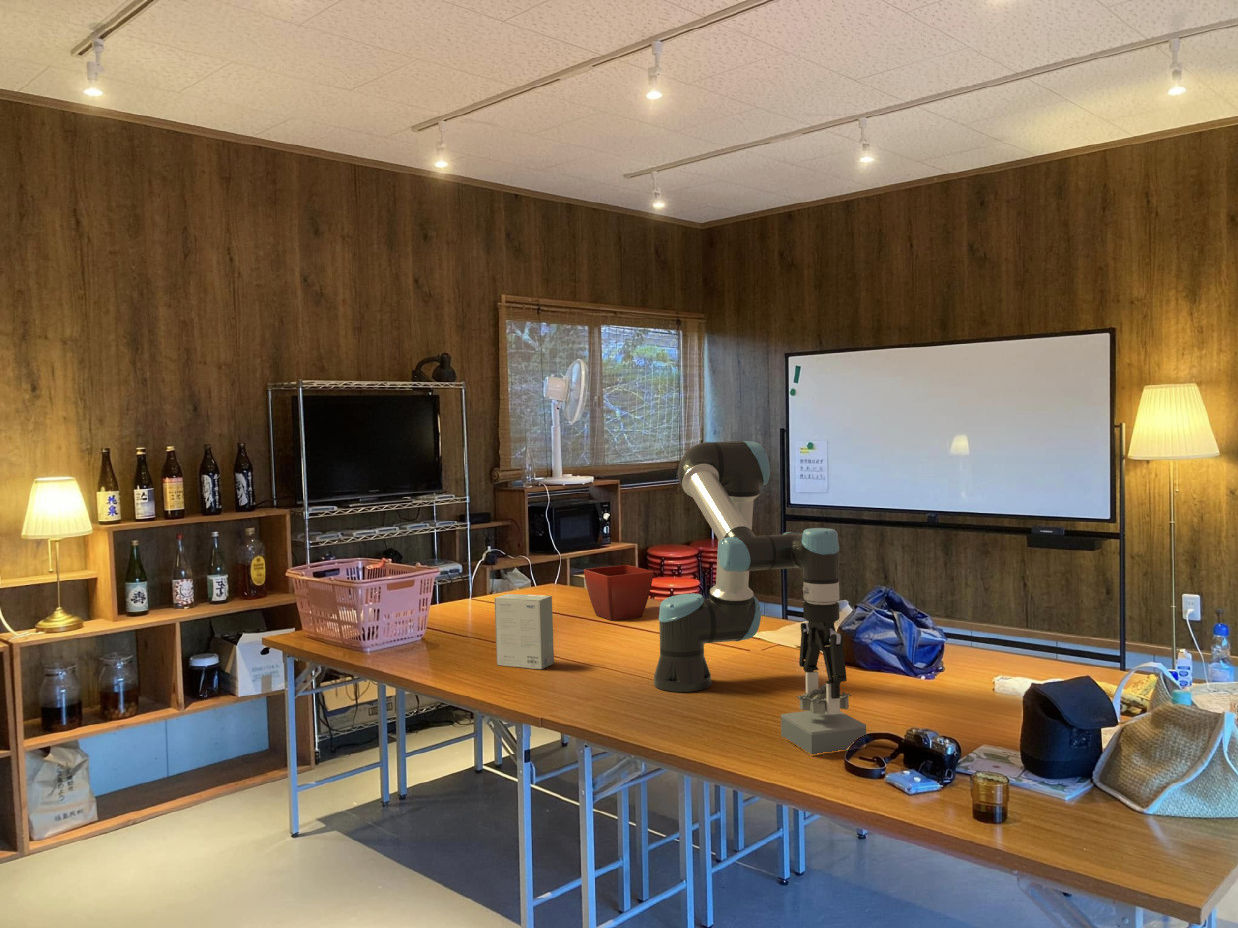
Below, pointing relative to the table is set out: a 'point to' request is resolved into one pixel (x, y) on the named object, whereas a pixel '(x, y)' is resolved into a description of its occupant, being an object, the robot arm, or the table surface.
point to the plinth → (821, 730)
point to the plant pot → (618, 591)
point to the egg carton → (820, 701)
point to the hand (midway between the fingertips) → (822, 706)
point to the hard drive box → (524, 631)
